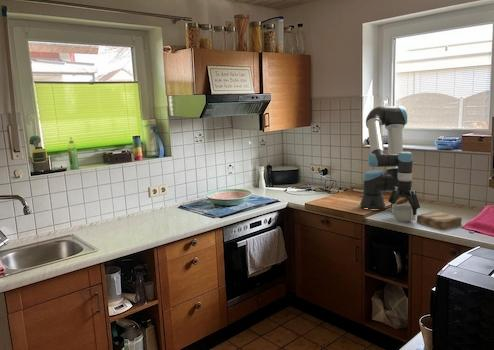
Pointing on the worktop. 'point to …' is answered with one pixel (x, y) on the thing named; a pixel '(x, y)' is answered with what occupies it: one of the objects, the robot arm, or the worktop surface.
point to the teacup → (402, 213)
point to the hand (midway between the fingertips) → (403, 217)
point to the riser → (439, 220)
